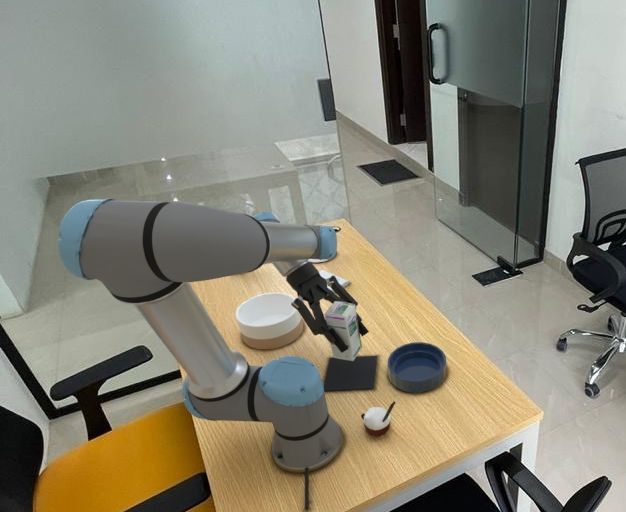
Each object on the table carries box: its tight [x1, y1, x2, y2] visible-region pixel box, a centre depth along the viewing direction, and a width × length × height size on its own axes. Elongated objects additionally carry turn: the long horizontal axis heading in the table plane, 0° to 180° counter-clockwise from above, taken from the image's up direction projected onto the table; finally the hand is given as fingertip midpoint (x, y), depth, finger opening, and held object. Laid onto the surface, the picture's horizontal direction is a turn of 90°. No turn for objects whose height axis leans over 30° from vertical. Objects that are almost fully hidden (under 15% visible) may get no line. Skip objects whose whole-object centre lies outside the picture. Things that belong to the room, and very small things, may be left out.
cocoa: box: [360, 401, 396, 438], centre depth 115 cm, size 10×6×12 cm, turn 40°
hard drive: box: [318, 269, 350, 294], centre depth 170 cm, size 2×8×12 cm
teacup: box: [308, 259, 331, 264], centre depth 184 cm, size 12×12×6 cm
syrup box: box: [323, 301, 363, 361], centre depth 126 cm, size 6×6×14 cm
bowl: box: [234, 292, 304, 350], centre depth 146 cm, size 17×17×8 cm
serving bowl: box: [387, 341, 447, 394], centre depth 134 cm, size 16×16×4 cm
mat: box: [323, 355, 378, 392], centre depth 134 cm, size 13×13×1 cm
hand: (355, 342), depth 126 cm, fingers closed on syrup box, 7 cm apart
